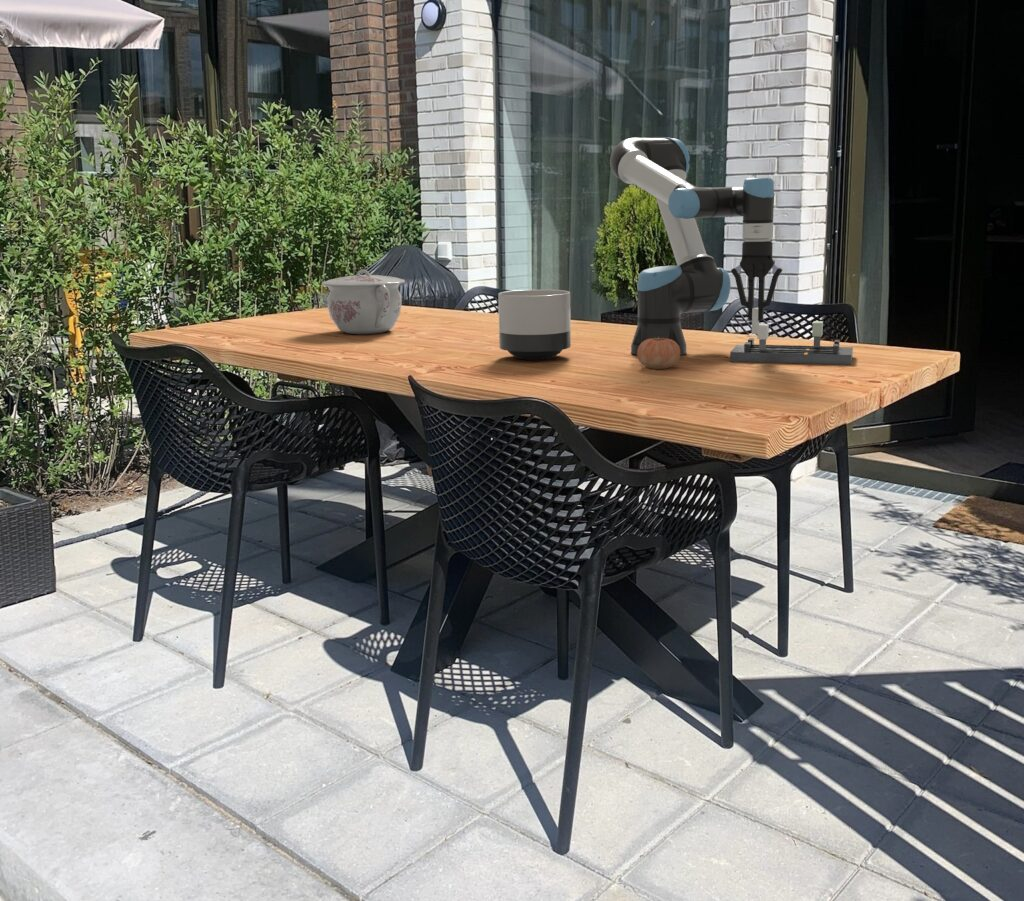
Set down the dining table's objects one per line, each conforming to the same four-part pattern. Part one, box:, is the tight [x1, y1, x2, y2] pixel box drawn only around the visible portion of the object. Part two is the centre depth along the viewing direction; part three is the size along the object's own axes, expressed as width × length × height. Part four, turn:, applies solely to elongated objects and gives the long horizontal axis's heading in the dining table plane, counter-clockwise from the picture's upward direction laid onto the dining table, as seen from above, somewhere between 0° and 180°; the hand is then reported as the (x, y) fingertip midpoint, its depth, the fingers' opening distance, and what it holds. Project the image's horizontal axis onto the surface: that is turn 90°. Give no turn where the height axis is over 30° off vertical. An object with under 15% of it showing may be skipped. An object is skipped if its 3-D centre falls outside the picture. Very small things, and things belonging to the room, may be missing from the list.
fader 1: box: [756, 323, 770, 350], centre depth 279 cm, size 2×4×6 cm, turn 162°
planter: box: [497, 288, 572, 361], centre depth 292 cm, size 19×19×18 cm
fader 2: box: [811, 320, 824, 347], centre depth 283 cm, size 2×4×6 cm, turn 162°
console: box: [729, 337, 854, 366], centre depth 281 cm, size 30×16×4 cm, turn 72°
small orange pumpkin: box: [636, 337, 681, 370], centre depth 272 cm, size 11×11×8 cm
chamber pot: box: [321, 268, 406, 335], centre depth 356 cm, size 28×28×21 cm
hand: (755, 333), depth 279 cm, fingers closed
